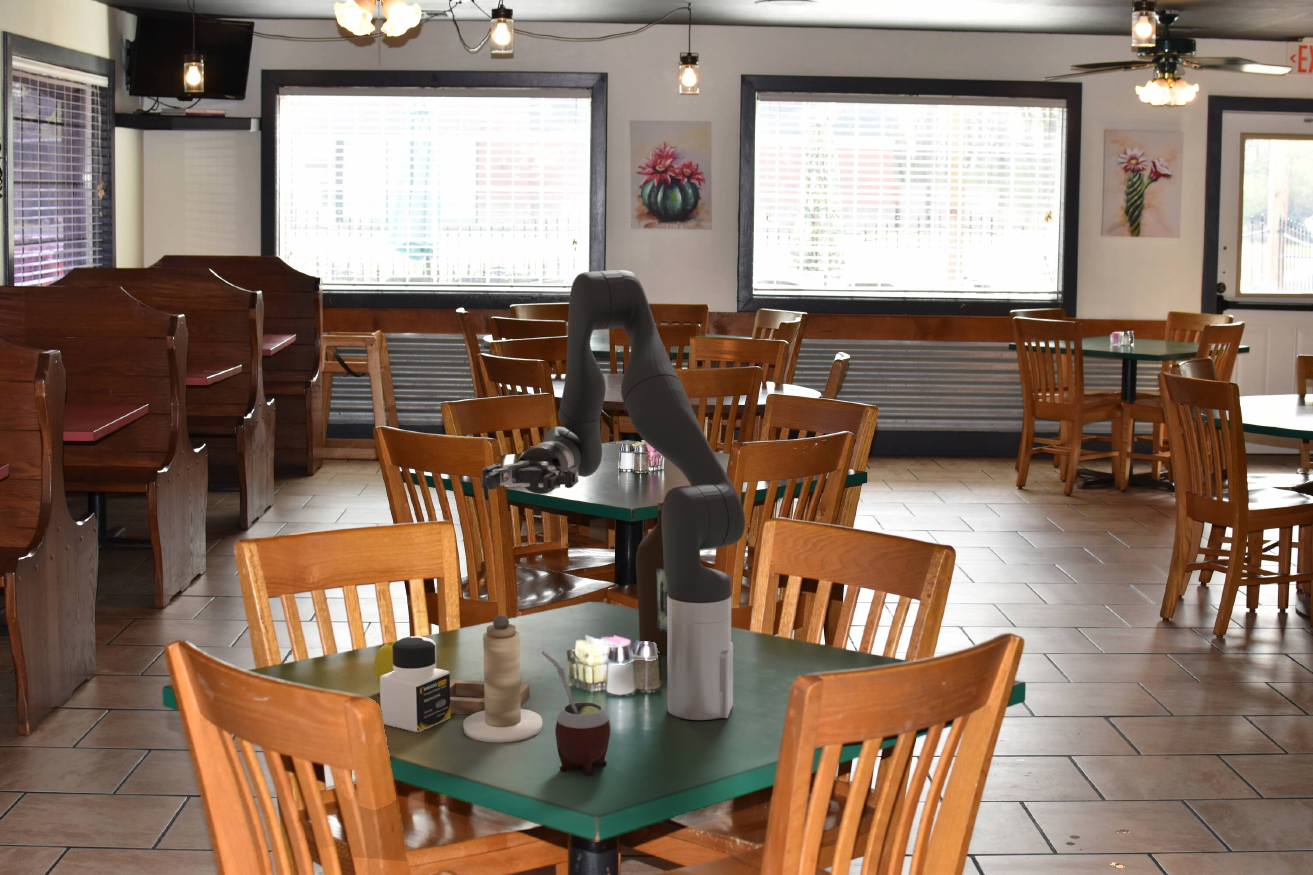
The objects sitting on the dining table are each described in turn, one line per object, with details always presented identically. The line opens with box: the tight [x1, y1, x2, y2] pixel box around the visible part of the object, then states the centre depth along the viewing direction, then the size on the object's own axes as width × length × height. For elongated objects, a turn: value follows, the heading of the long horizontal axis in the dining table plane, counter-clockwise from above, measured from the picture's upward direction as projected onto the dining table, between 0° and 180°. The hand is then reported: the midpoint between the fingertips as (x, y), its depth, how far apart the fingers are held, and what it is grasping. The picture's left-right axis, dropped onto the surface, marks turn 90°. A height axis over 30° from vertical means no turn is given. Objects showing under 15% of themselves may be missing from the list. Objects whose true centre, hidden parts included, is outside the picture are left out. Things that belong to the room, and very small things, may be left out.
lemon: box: [373, 640, 396, 685], centre depth 201 cm, size 6×6×8 cm
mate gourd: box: [541, 650, 611, 777], centre depth 170 cm, size 8×8×15 cm
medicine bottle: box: [379, 635, 452, 734], centre depth 188 cm, size 7×7×12 cm
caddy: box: [450, 678, 530, 715], centre depth 195 cm, size 13×9×2 cm
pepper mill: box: [482, 614, 522, 727], centre depth 185 cm, size 5×5×15 cm
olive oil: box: [635, 499, 667, 656], centre depth 222 cm, size 11×11×25 cm
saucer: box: [462, 708, 543, 743], centre depth 186 cm, size 11×11×1 cm
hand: (517, 483), depth 197 cm, fingers open, 8 cm apart
